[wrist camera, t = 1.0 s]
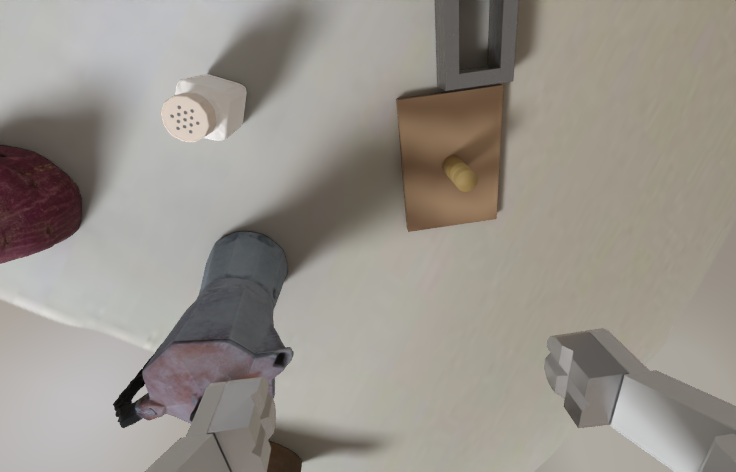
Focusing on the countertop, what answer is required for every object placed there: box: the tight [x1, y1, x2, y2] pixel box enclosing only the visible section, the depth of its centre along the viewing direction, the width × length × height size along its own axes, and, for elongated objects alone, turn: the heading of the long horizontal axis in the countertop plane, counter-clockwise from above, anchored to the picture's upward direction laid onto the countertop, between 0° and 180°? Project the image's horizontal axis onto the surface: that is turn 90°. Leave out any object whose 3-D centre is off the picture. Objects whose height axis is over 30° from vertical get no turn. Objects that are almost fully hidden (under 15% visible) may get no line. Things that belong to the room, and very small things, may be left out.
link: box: [435, 0, 519, 91], centre depth 30 cm, size 9×6×3 cm, turn 7°
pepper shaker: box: [161, 74, 247, 142], centre depth 29 cm, size 4×4×10 cm
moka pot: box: [113, 231, 293, 428], centre depth 33 cm, size 10×15×20 cm, turn 114°
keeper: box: [396, 84, 504, 232], centre depth 35 cm, size 14×10×6 cm
